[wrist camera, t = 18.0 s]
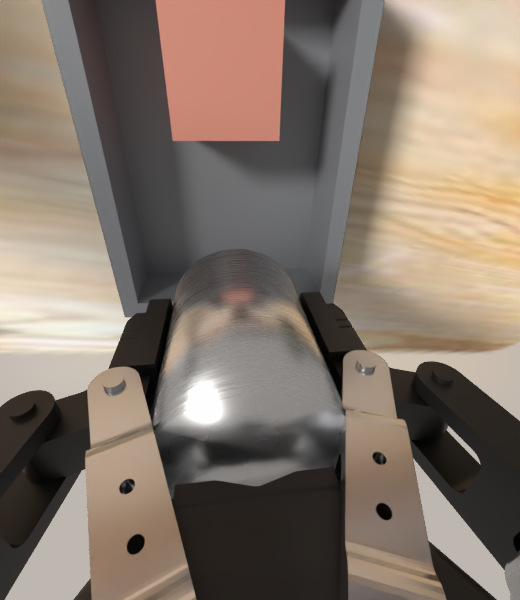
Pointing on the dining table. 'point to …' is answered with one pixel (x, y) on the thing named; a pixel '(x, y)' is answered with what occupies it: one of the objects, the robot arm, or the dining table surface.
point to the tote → (216, 146)
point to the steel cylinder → (242, 378)
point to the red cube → (223, 68)
